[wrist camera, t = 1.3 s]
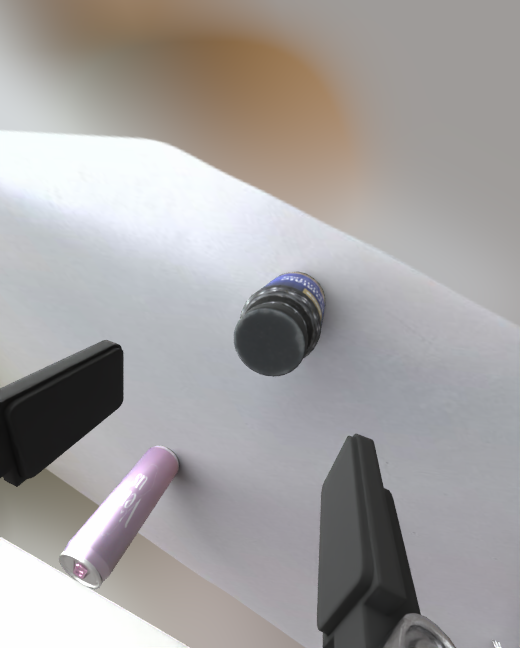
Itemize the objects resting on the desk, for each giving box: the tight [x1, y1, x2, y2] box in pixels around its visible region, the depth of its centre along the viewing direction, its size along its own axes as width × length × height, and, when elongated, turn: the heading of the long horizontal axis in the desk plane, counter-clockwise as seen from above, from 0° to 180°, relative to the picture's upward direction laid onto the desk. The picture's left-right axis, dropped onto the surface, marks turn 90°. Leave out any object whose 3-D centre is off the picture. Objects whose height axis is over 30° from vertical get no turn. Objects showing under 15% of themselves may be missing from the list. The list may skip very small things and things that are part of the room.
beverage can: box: [59, 446, 179, 589], centre depth 33 cm, size 6×6×15 cm
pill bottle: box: [234, 272, 325, 376], centre depth 20 cm, size 6×6×11 cm
